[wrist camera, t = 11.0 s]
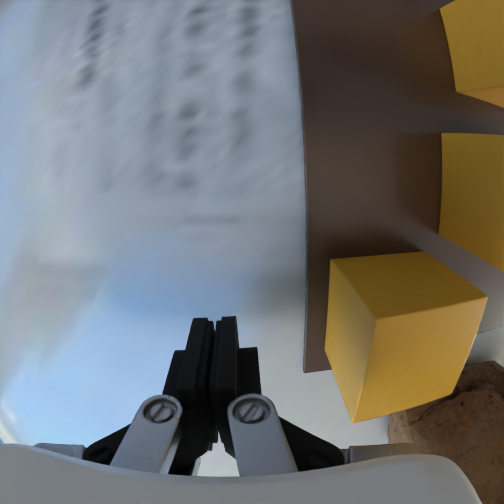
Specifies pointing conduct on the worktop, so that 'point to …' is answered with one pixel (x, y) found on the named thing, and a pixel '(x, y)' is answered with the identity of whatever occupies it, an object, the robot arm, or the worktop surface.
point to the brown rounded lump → (463, 428)
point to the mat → (380, 144)
